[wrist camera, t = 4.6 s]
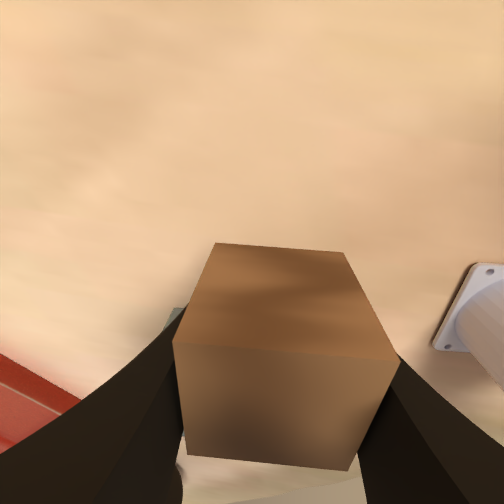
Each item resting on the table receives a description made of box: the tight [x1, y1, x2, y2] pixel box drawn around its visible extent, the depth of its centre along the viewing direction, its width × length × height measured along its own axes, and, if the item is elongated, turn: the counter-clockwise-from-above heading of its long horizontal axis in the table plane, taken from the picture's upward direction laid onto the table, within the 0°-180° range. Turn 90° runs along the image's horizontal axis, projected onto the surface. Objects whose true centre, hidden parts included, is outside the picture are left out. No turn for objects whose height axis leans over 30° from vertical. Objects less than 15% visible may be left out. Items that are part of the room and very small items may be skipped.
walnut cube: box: [172, 243, 401, 471], centre depth 9 cm, size 5×5×5 cm
